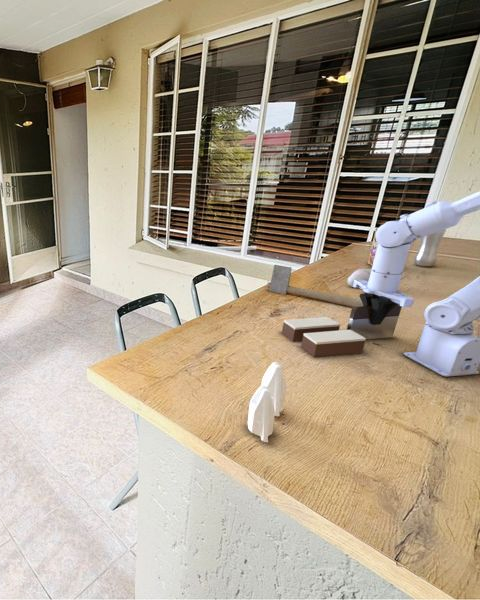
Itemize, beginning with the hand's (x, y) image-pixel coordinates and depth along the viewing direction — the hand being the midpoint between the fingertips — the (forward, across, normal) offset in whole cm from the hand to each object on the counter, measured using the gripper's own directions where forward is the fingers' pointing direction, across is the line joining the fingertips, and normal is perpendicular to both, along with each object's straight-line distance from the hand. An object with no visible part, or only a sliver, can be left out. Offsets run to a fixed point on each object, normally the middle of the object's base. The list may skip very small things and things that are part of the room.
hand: (372, 322), depth 88 cm
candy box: (+5, -56, +52) cm, 76 cm away
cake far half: (+5, -4, -13) cm, 14 cm away
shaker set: (+5, +26, -42) cm, 49 cm away
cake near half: (+5, +4, -13) cm, 14 cm away
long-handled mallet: (+5, -28, +5) cm, 28 cm away
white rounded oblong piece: (+5, -38, +30) cm, 48 cm away
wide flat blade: (+4, 0, 0) cm, 4 cm away
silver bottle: (+5, -52, +69) cm, 87 cm away
